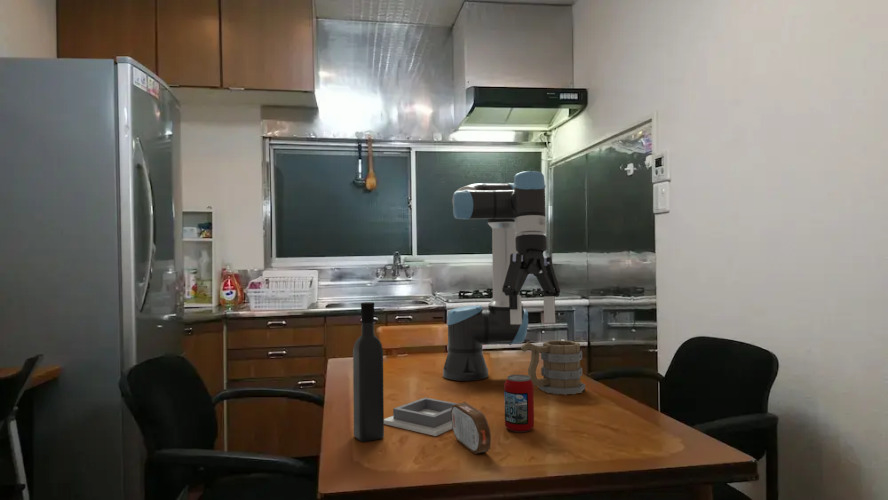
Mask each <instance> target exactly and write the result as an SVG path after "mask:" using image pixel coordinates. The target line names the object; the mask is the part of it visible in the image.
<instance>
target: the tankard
mask: <svg viewBox="0 0 888 500" xmlns="http://www.w3.org/2000/svg"><path fill="white" fill-rule="evenodd" d="M520 349H521V351H522V352H524V353H525V352H526V351H528V350H529V351H531V356H530V362H529V366H528V370H527V374H528V375H527V376H529V377H530V379H531V381H532V383H533V387H538V389H539V390H541V391H542V390H543V391H542V392H544V391H545V392H544V393H546V392H547V393H546V394H549V393H553V394H552V395H559V394H565V395H564V396H568V395H567V394H572V395H577V394H576V393H581V394H582V393H583V392H584V391H585V390H586V384H585V383H583V382H581V377H582V376H583V367H581V361H582V360H583V351H582V350H581V344H580V342H577V341H573V340H547V341H545V342H543V343H542V346H538V345H535V344H533V343H531V342H530V341H527V342H526V343H524V344H522V345H521V346H520ZM540 359H541V360H542V361H543V362H542V365H543V366H541V369H540V372H541V373H540V375H541V376H543V378H537V372H536V371H537V368H538V365H539V362H540ZM584 389H585V390H584ZM583 390H584V391H583ZM582 391H583V392H582Z"/></svg>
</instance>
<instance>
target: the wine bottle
mask: <svg viewBox="0 0 888 500" xmlns="http://www.w3.org/2000/svg"><path fill="white" fill-rule="evenodd" d="M360 313H361V335H360V336H359V337H357V339H355V342H354V345H353V349H352V350H353V351H352V370H353V373H352V374H353V377H352V383H353V384H352V386H353V387H352V388H353V394H352V395H353V399H352V400H353V436H354V437H355V438H356V439H357V440H358V441H360V442H362V443H365V442H371V441H376V440H377V441H378V440H382V439H383V438H384V437H385V426H384V425H385V424H384V419H385V416H384V411H385V410H384V405H385V403H384V348H383V345H382V344H383V343H382V342H381V341H380V339H379V338H378V337H377V336H376V334H375V302H370V301H369V302H368V301H367V302H360Z"/></svg>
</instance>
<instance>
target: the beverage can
mask: <svg viewBox="0 0 888 500" xmlns="http://www.w3.org/2000/svg"><path fill="white" fill-rule="evenodd" d="M503 386H504V387H503V388H504V389H503V390H504V394H503V395H504V397H503V399H504V401H503V402H504V406H503V407H504V427H506V428H507V429H508V430H509V431H512V432H514V433H526V432H529V431H530V430H532V429H534V427H535V399H534V398H535V397H534V395H535V394H534V390H535V388H534V387H535V386H533V383H532V381H531V379H530V377H529V376H528V375H527V374H526V375H525V374H510V375H507V376H506V380H505V382H504V385H503Z"/></svg>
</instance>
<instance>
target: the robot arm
mask: <svg viewBox="0 0 888 500" xmlns="http://www.w3.org/2000/svg"><path fill="white" fill-rule="evenodd" d="M451 201H452V202H451V203H452V207H453V208H452V213H453V217H454V219H457V220H464V221H465V220H466V221H467V220H487V225H489V227H490V228H491V230H492V232H491V233H492V234H491V237H492V238H491V239H492V240H491V242H492V246H491V247H492V251H491V252H492V253H491V254H492V300H491V301H489V303H488V305H487V306H488V307H487V308H488V309H483V307H482V305H477V304H476V305H467V306H460V307H454V308H452V309H450V310H449V311H448V313H447V323H446V325H447V354H446V355H447V356H446V358H445V362H444V366H443V368H442V377H443V378H445V379H447V380H452V381H458V382H459V381H462V382H463V381H464V382H465V381H466V382H467V381H469V382H471V381H480V380H484V379H486V378H488V377H489V368H488V366H487V363H486V360H485V358H484V357H485V356H484V353H483V345H484V346H485V345H488V346H489V345H509V346H511V345H517V344H518V345H519V344H522V343H523V342H524V341H525V339H526V337H527V332H528V327H529V313H528V310H527V309H526V308H524V303H522V295H519V294H520V293H521V290H522V288H523V286H524V284H525V282H526V279H527V278H528V276H529V275H533V276H534V277H535V278H536V279H537V281H538V283H539V285H540V288H541V289H542V291H543V293H544V294H545V296H542V297H543V322H544V324H555V323H556V299H555V298H556V297H559V295H560V293H561V289H560V286H559V283H558V279H557V277H556V273H555V270H554V267H553V261H552V256H551V255H550V256H544V252H546V251H547V250H548V238H547V236H546V235H545V234H546V233H547V220H546V219H547V213H546V209H547V208H546V184H545V175H544V174H543V173H542V172H540V171H536V170H533V171H532V170H527V171H521V172H518V173H516V174H515V175H514V177H513V182H497V183H492V182H491V183H489V182H488V183H479V182H478V183H471V184H468V185H464V186H462V187H460V188H458V189H457V190H456V191H454V192H453V195H452V199H451Z"/></svg>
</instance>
